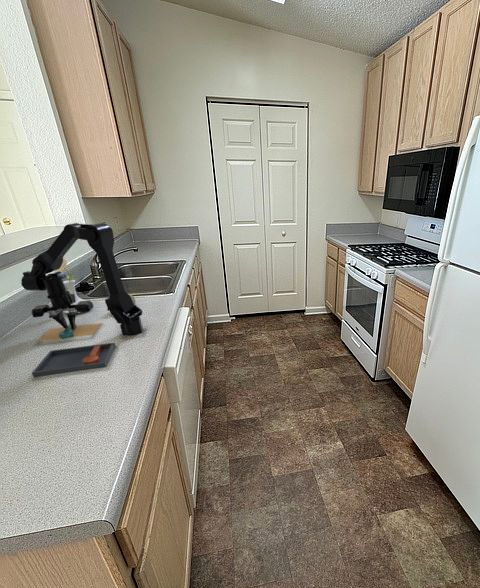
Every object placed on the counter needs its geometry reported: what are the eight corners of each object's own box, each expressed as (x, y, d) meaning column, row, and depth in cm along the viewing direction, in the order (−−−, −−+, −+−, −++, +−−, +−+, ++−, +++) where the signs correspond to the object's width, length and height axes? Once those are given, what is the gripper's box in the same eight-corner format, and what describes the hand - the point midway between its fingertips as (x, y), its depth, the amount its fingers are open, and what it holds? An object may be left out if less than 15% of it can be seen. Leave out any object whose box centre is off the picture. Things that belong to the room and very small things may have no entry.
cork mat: (100, 324, 135) (100, 323, 135) (91, 338, 123) (91, 337, 123) (50, 329, 131) (50, 329, 131) (36, 345, 119) (35, 344, 119)
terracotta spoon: (106, 350, 113) (104, 344, 112) (98, 365, 103) (96, 360, 103) (92, 351, 112) (90, 346, 111) (82, 368, 102) (80, 362, 101)
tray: (116, 348, 116) (114, 342, 115) (106, 369, 103) (104, 362, 102) (52, 356, 111) (50, 350, 110) (34, 379, 99) (31, 372, 98)
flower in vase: (61, 311, 150) (41, 255, 138) (90, 305, 156) (72, 251, 145) (67, 319, 141) (46, 260, 130) (97, 312, 148) (79, 255, 136)
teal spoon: (80, 326, 132) (78, 322, 131) (71, 338, 122) (69, 333, 121) (68, 328, 131) (66, 323, 130) (58, 339, 121) (56, 335, 120)
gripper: (90, 282, 130) (102, 318, 137) (36, 286, 126) (51, 324, 133) (82, 290, 120) (95, 329, 127) (23, 295, 116) (40, 335, 123)
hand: (70, 329), depth 128 cm, fingers closed on teal spoon, 2 cm apart
